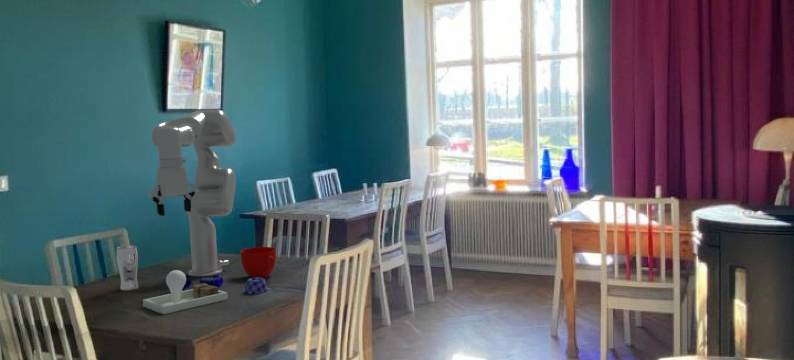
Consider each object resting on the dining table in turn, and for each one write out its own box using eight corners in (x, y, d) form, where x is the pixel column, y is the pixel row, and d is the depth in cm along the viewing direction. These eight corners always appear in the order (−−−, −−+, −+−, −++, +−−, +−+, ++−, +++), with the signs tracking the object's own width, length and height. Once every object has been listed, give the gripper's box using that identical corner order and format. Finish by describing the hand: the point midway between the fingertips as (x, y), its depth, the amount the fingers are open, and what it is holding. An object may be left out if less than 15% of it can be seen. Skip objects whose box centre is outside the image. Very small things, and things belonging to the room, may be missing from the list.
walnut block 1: (205, 294, 237) (204, 283, 237) (209, 297, 234) (209, 285, 234) (193, 297, 235) (192, 285, 235) (198, 299, 232) (197, 287, 232)
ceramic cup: (258, 284, 254) (257, 256, 253) (235, 277, 266) (233, 250, 266) (289, 277, 262) (288, 250, 261) (265, 271, 275) (264, 245, 274)
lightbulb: (190, 301, 229) (189, 268, 227) (180, 308, 223) (179, 274, 221) (173, 299, 230) (172, 267, 228) (162, 305, 224) (161, 272, 223)
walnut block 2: (210, 297, 234) (209, 285, 233) (218, 298, 231) (217, 286, 231) (200, 300, 231) (200, 288, 230) (208, 301, 228) (208, 289, 228)
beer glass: (132, 291, 250) (129, 249, 248) (115, 290, 251) (111, 248, 250) (143, 286, 257) (140, 245, 255) (126, 286, 258) (123, 245, 257)
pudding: (241, 290, 246) (240, 276, 245) (276, 289, 247) (275, 274, 246) (236, 299, 234) (235, 284, 233) (272, 297, 235) (272, 282, 234)
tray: (206, 294, 241) (205, 286, 240) (227, 301, 231) (227, 292, 230) (143, 308, 225) (142, 299, 225) (163, 316, 215) (163, 307, 215)
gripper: (188, 160, 251) (192, 208, 253) (141, 165, 239) (145, 216, 241) (199, 161, 245) (203, 210, 248) (151, 166, 233) (156, 218, 236)
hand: (174, 213), depth 244 cm, fingers open, 9 cm apart
